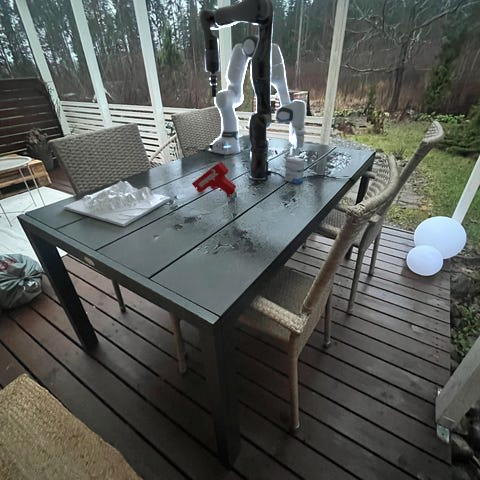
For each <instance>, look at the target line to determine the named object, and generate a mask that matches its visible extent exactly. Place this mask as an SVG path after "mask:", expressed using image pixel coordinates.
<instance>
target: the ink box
mask: <svg viewBox="0 0 480 480" xmlns="http://www.w3.org/2000/svg"><path fill="white" fill-rule="evenodd" d="M305 162H306V159H304V158H299V157H296V156H290V157H289V156H288V157H286V158H285V169H284V177H285V179H284V181H285V182H289V183H293V184H295V185H298V184H300V183H302V182H303V180H304V179H303V177H304V173H305V171H304V170H305Z"/></svg>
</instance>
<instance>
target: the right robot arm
mask: <svg viewBox="0 0 480 480" xmlns="http://www.w3.org/2000/svg"><path fill="white" fill-rule="evenodd" d="M274 8H275V7H274V3H273V0H242V1H240V2H237V3H235V4H230V5H226V6H221V7H219V8H216V10H213V9H206V8H205V9H202V10H201V11H200V13H199V16H198V20H199V26H200V30H201V33H202V38H203V44H204V66H205V72H208V73H210V75H209V76H208V77H209V85H210V89H211V97H212V98H215V97H216V94H217V85H218V76H217V75H216V73H218V72H221V60H220V59H221V57H220V50H219V49H220V48H219V36H218V35H216V34H214V33H213V31H212V30H220V29H221V28H225V27H226V28H227V27H231V26H233V25H236V24H238V23H247V24H252V25H254V26H255V25H256V26H257V35H258V42H257V45H256V48H255V51H254V54H253V56H252V59H250V81H251V85H252V89H253V92H254V96H255V101H256V103H255V106H256V107H255V112H253V113H252V114H251V115H250V117H249V120H248V139H249V142H250V155H249V157H250V158H249V160H250V161H249V165H250V166H249V167H250V168H249V178H250V180H253V181H256V182H257V181H265V180H268V179H269V177H270V176H271V177H272V174H274V175H277V176H279V177H281V178H282V179H284V180H285V175H283V174H281V173H279V172H277V171H273V170H272V168H269V142H270V140H269V139H268V138H267V130H268V129H269V128H270V127H271V125H272V121H273V116H272V115H273V113H272V104H271V103H272V102H271V93H272V92H271V90H272V87H271V86H272V84H271V44H272V42H273V41H272V40H273V38H272V37H273V29H274V28H273V27H274V18H275V17H274V15H275V9H274ZM312 175H313V176H310V175H305V176H303V180H304V179H307V178H315V177H322V178H328V179H333V180H334V179H335V180H339V179H341V178H336V177H337V176H331V177H329V176H330V175H327V176H325V175H326V174H312ZM306 176H307V177H306ZM343 177H349V176H348V175H343ZM348 180H350V181H353V178H352V177H350V178H348Z"/></svg>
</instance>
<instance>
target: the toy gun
mask: <svg viewBox="0 0 480 480" xmlns="http://www.w3.org/2000/svg"><path fill="white" fill-rule="evenodd" d="M228 173H229V169H228V168H227V166H226V165H225V164H224V163H223V162H222V161H219V162H217V163H216V164H214V166H212V167H211V168H210V169H209V170H207V171H206V172H204V173H203V174H202V175H201V176H199V177H198V178H197V179H196V180H194V181H193V182H192V183H191V184H192V186H193V187H194V189H195V190H196V191H197V193H199V194H201V193H203V192H204V191H205V190H207V189H208V188H210V189H211V190H213V191H215V190H216V189H218V188H219V189H220V190H222V191H223V192H224V193H225V194H226V196H227V197H229V196H230V195H233V194H235V192H236V188H237V186H236V184H235V183H233V182H232V181H230V180H229V179H228V178H227V177H226V175H227V174H228Z"/></svg>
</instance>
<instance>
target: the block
mask: <svg viewBox="0 0 480 480" xmlns="http://www.w3.org/2000/svg"><path fill="white" fill-rule="evenodd" d="M300 149H301V148H299V149H298V153H295V147H292V146H290V149H289V150H290V151H289V155H290V157H298V156H299V157H300V151H301V150H300Z"/></svg>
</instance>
